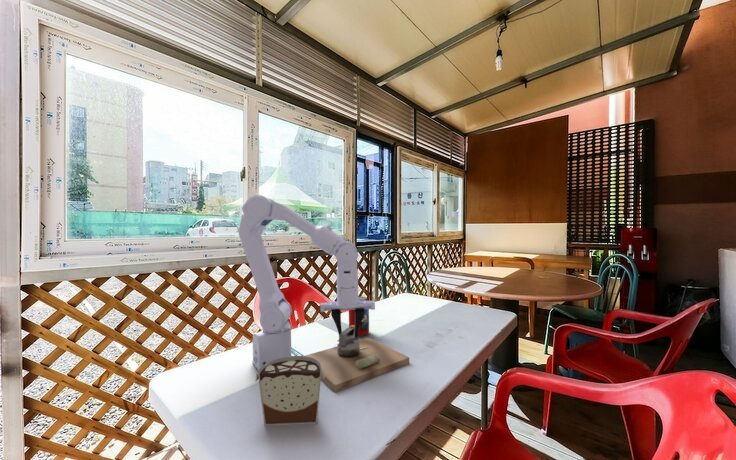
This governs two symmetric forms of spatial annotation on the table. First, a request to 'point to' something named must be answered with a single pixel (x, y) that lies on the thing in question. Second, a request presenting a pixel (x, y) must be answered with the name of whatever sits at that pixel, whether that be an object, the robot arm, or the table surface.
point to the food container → (290, 390)
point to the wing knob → (348, 343)
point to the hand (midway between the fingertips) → (348, 336)
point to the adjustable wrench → (295, 352)
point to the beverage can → (365, 321)
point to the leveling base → (347, 365)
